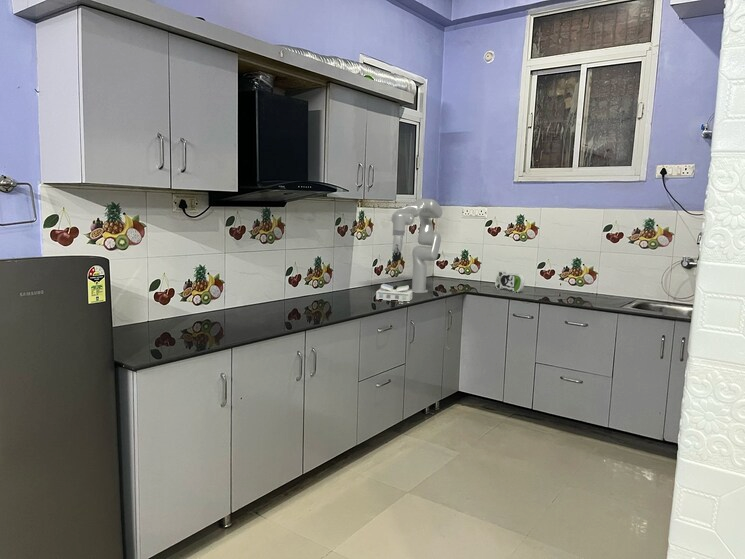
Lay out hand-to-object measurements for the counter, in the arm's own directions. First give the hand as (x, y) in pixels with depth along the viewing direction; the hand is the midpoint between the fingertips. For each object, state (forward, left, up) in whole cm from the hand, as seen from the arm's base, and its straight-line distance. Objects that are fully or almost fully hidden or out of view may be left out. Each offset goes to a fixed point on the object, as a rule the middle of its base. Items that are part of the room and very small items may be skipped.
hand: (397, 260), depth 349 cm
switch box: (+2, 0, -24) cm, 24 cm away
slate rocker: (+2, -5, -17) cm, 18 cm away
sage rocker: (+2, +5, -17) cm, 18 cm away
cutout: (-69, +73, -24) cm, 103 cm away
